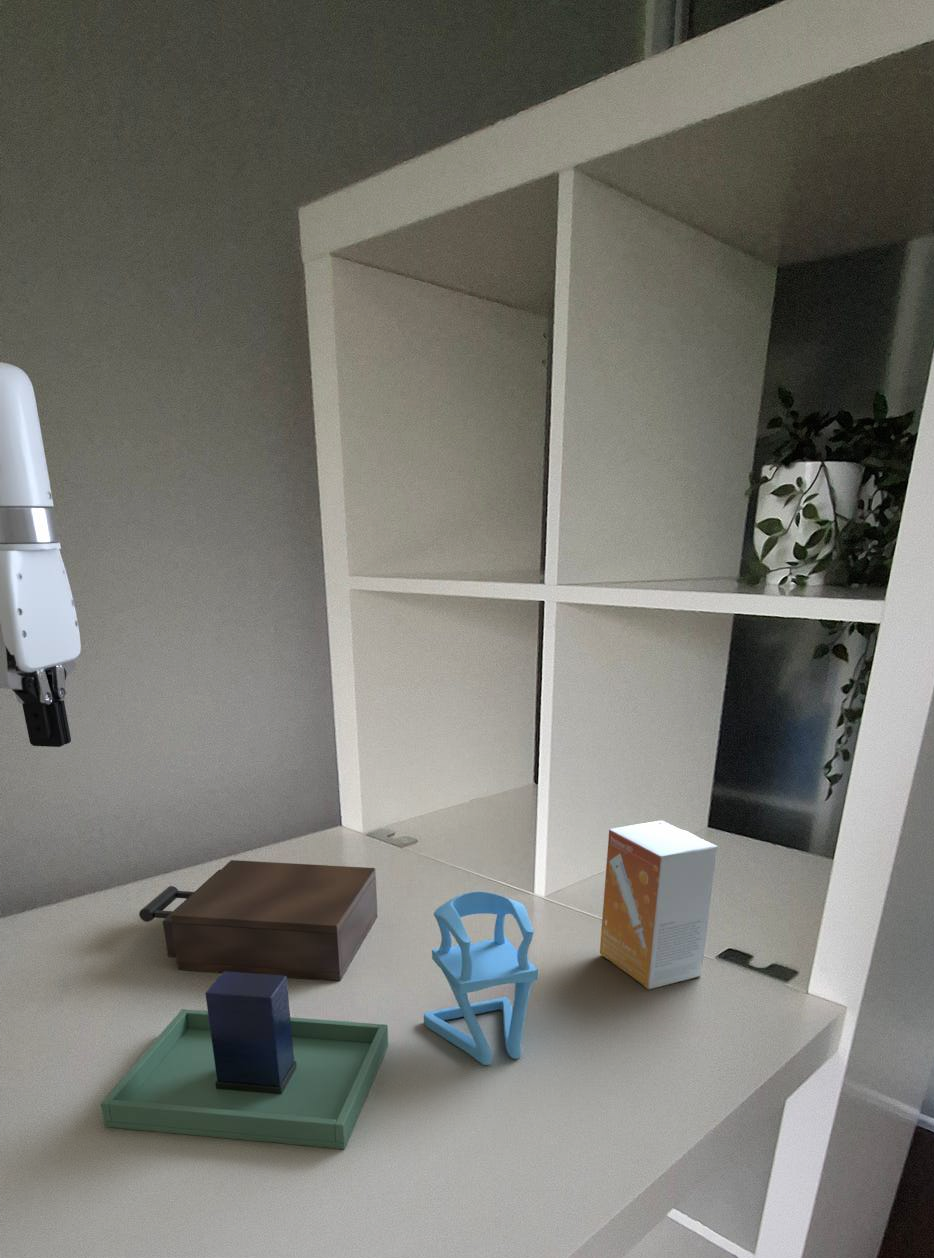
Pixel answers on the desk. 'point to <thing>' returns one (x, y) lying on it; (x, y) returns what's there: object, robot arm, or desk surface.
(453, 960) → the chair
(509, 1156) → the desk surface
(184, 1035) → the tray
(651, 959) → the small box
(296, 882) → the cabinet
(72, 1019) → the desk surface
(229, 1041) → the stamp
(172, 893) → the drawer
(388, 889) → the desk surface
